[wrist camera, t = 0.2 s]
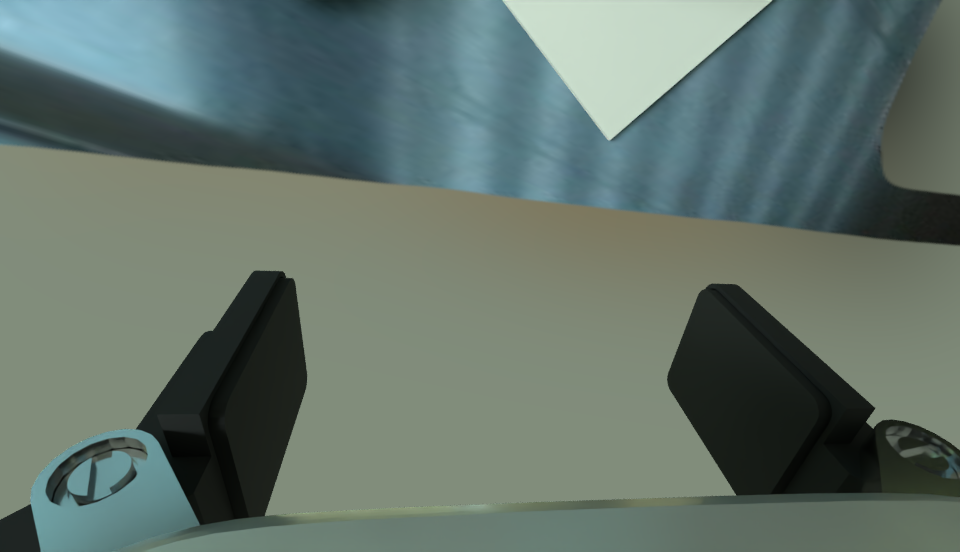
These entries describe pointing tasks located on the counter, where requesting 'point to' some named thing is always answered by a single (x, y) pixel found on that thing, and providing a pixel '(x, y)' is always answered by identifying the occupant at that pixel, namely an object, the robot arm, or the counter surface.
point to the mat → (627, 47)
